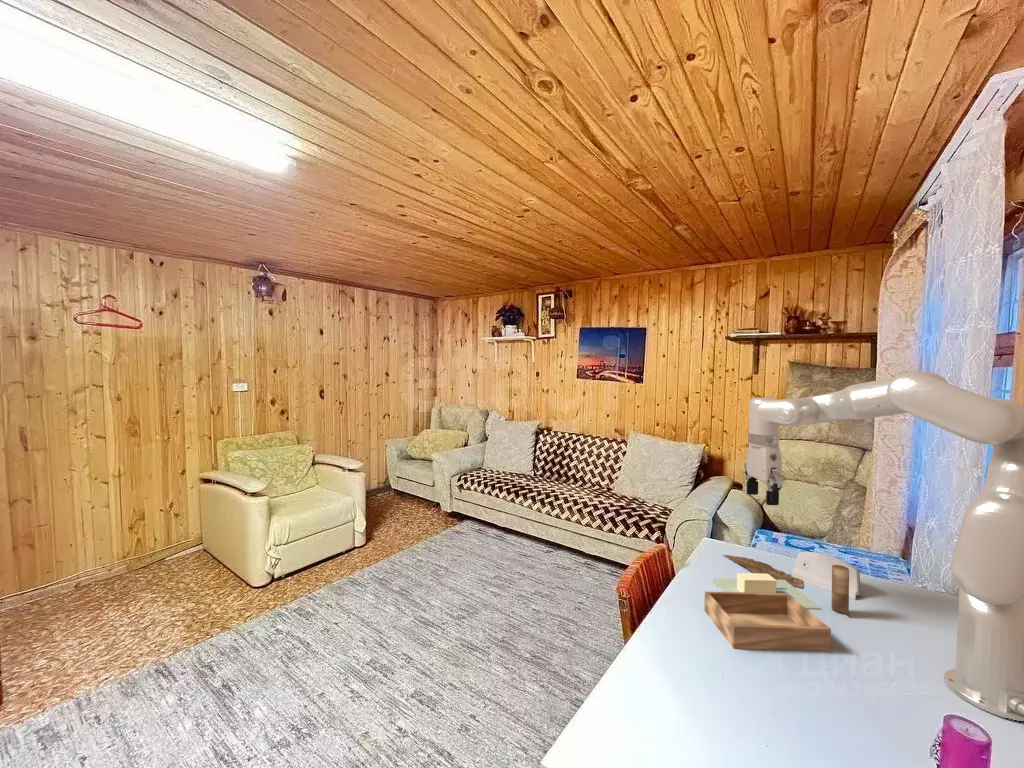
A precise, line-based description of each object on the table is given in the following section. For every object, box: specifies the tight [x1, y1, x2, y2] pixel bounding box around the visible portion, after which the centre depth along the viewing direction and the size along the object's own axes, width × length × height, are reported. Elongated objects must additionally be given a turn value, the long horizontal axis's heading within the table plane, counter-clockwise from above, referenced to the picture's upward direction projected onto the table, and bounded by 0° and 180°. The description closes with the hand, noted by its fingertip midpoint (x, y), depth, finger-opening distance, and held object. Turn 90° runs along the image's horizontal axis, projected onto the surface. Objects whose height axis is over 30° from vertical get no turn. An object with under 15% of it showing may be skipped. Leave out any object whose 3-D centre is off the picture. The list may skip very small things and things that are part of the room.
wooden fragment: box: [722, 554, 805, 589], centre depth 134 cm, size 26×11×1 cm, turn 27°
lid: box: [712, 572, 821, 611], centre depth 118 cm, size 15×22×6 cm
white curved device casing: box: [790, 551, 861, 601], centre depth 125 cm, size 17×5×10 cm, turn 37°
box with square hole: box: [703, 591, 832, 652], centre depth 101 cm, size 15×22×6 cm
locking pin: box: [831, 565, 850, 617], centre depth 110 cm, size 4×4×12 cm
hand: (761, 499), depth 117 cm, fingers open, 9 cm apart
